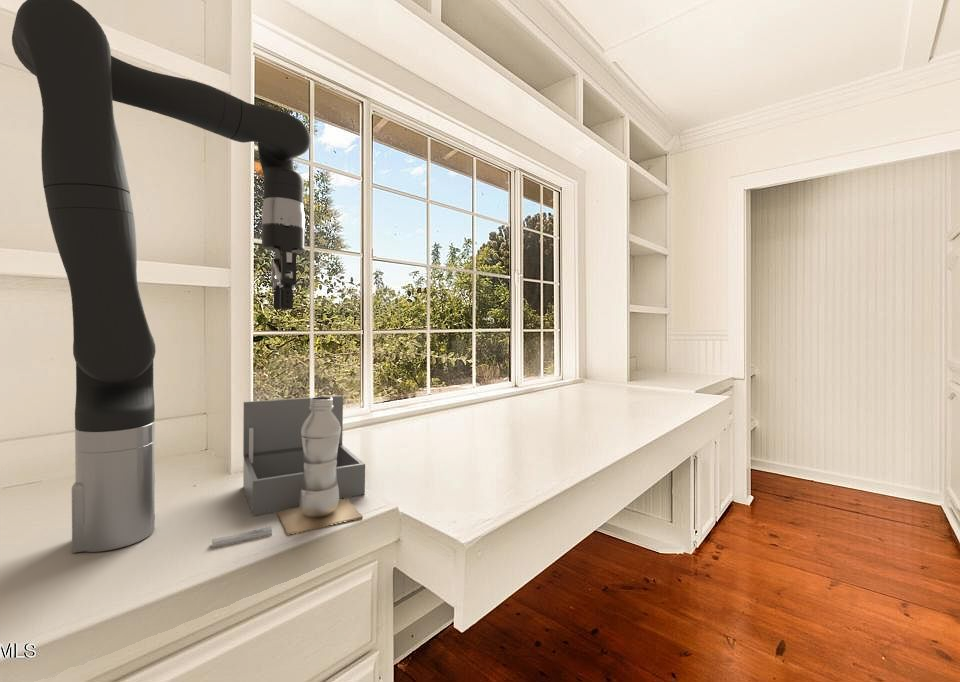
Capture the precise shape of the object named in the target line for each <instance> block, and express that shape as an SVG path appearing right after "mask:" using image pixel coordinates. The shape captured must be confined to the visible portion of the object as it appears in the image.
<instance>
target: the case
mask: <svg viewBox="0 0 960 682" xmlns="http://www.w3.org/2000/svg"><path fill="white" fill-rule="evenodd" d="M325 397H332V399H333V409H331V411H332V413H333V414H334V415H335V417H336V418H337V419H338V421H339V423H340V426H341V433H340V439H339V444H338V452H337V459H336V460H337V465H336V468H337V484H338V488H339V496H340V498H339V500H341V498H344V499H346V498H347V497H349V498H353V497H352V496H354V497H357V496H356V495H359V496H362V495H361V494H365V495H366V493H365V492H366V463H365V462H363V461H362V460H361V459H360V458H359V457H358V456H356V455H355V454H354V453H353V452H351V451H350V449H348V448H347V447H346V446H344V444H343V431H344V430H343V429H344V428H343V421H344V420H343V419H344V411H343V410H344V407H343V406H344V396H343V395H341V394H340V395H328V396H327V395H326V396H325ZM310 398H313V397H312V396H311V397H299V398H283V399H281V398H280V399H269V400H268V399H267V400H253V401H249V400H248V401H243V417H242V419H243V420H242V422H243V424H242V425H243V428H242V429H243V430H242V431H243V432H242V434H243V435H242V436H243V437H242V438H243V440H242V446H243V447H242V454H243V456H242V457H243V477H242V478H243V479H242V480H243V485H242V486H243V487H242V488H243V489H244V494H245V496H246V499H247V502H248V507H249V509H250V512H251V515H252V517H257V516H260V515H265V514H269V513H276V512H279V511H284V510H289V509H294V508H300V507H299V497H300V491H301V488H302V481H303V472H304V459H303V446H302V438H301V437H302V436H301V428H302V425H303V423H304V422H305V420H306V419H307V417H308V416H309V415H310V413H311V410H310V409H309V406H310ZM347 499H348V498H347Z"/></svg>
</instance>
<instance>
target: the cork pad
mask: <svg viewBox="0 0 960 682" xmlns="http://www.w3.org/2000/svg"><path fill="white" fill-rule="evenodd" d="M277 515H278V518H279V519H280V522H281V525H282V527H283V529H284V531H285V534H286V536H291V535H290V534H292V535H296V534H300V533H299V532H301V533H303V531H305V532H308V531H307V530H310V531H313V529H314V530H317V528H319V529H322V528H321V527H323V528H326V527H325V526H327V527H329V526H328V525H331V524H335V523H339V522H344V521H350V520H354V521H357V520H356V519H359V520H363V519H362V518H363V515H362V514H361V512H360V511H359V510H358V509H357V508H356V507H355V505H353V503H352V502H351V501H350V500H349V498H344V499H339V503H338V506H337V508H336V509H335V511H334V512H333V513H331V514H328V515H325V516H321V517H308V516H305V515H303V513H302V512H301V511H300V507H297V508H292V509H287V510H281V511H277ZM350 522H351V521H350ZM295 533H296V534H295Z"/></svg>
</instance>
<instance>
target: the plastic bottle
mask: <svg viewBox="0 0 960 682" xmlns="http://www.w3.org/2000/svg"><path fill="white" fill-rule="evenodd" d="M309 398H310V397H309ZM309 409H310V410H311V413H310V415H309V416H308V417H307V419H306V420H305V422H304V423H303V425H302V428H301V436H302V437H301V438H302V446H303V459H304V472H303V481H302V488H301V491H300V497H299V507H298V508H300V511H301V512H302V513H303V515H305V516H308V517H321V516H325V515H328V514H331V513H333V512H334V511H335V509H336V508H337V506H338V503H339V500H340V499H339V498H340V496H339V488H338V484H337V468H336V465H337V460H336V459H337V452H338V444H339V439H340V433H341V426H340V423H339V421H338V419H337V418H336V417H335V415H334V414H333V413H332V411H331V409H333V399H332V397H326V396H315V397H313V398H310V406H309Z"/></svg>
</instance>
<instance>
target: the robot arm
mask: <svg viewBox="0 0 960 682" xmlns="http://www.w3.org/2000/svg"><path fill="white" fill-rule="evenodd" d="M109 42H110V41H108V38H107V35H106V34H105V31H104V29H103V28H102V26H101V25H100V24H99V22H98V20H97V19H96V18H95V17H94V16H93V15H92V14H91V13H90V12H89V11H88V10H87V9H86V8H84V6H82V5H81V4H80V3H78V2H76V1H75V0H25V1H24V2H23V3H22V4H21V5H20V7H19V8H18V10H17V13H16V15H15V20H14V25H13V29H12V34H11V45H12V48H13V51H14V53H15V55H16V57H17V59H18V61H19V62H20V64H22V65H23V66H24V68H26V69H27V70H28V71H29V72H30V73H31V74H32V75H34V76H35V77H36V80H37V84H38V87H39V92H40V98H41V106H42V127H41V128H42V129H41V130H42V131H41V150H40V151H41V155H40V156H41V159H40V160H41V175H42V187H43V190H44V191H43V192H44V198H45V202H46V207H47V214H48V218H49V220H50V226H51V229H52V233H53V237H54V241H55V244H56V247H57V250H58V254H59V256H60V259H61V262H62V265H63V268H64V270H65V274H66V276H67V280H68V282H69V283H68V284H69V288H70V289H69V290H70V296H71V307H72V308H71V310H72V319H73V320H72V325H73V326H72V327H73V334H72V335H73V344H72V353H73V358H74V361H75V407H74V437H75V438H74V439H75V440H74V441H75V442H74V447H75V449H74V454H75V463H74V465H75V470H74V471H75V473H74V474H75V482H74V483H73V484H72V486H71V552H72V553H75V554H76V553H79V552H90V553H91V552H92V553H94V552H98V553H99V552H105V551H111V550H116V549H120V548H125V547H128V546H130V545H133V544H136V543H138V542H140V541H143V540H144V539H146V538H148V537H150V536H151V535H152V534H153V533H154V532H155V526H156V525H155V521H156V514H155V512H156V511H155V507H156V505H155V503H156V501H155V498H156V497H155V494H156V493H155V488H156V487H155V486H156V485H155V483H156V480H155V476H156V475H155V463H156V462H155V461H156V459H155V457H156V456H155V452H156V451H155V449H156V448H155V445H156V444H155V443H156V442H155V436H156V435H155V419H156V418H155V412H156V411H155V410H156V409H155V392H154V359H155V356H156V344H155V340H154V337H153V335H152V332H151V329H150V326H149V323H148V320H147V317H146V314H145V310H144V306H143V304H142V303H143V302H142V299H141V295H140V290H139V285H138V275H137V268H138V267H137V263H138V262H137V255H138V254H137V253H138V252H137V235H136V223H135V217H134V214H135V213H134V209H133V202H132V197H131V191H130V186H129V181H128V177H127V171H126V167H125V161H124V155H123V151H122V147H121V143H120V138H119V134H118V130H117V125H116V121H115V120H116V119H115V116H114V115H115V114H114V105H113V102H117V103H120V104H124V105H128V106H132V107H134V108H139V109H142V110H145V111H148V112H153V113H157V114H159V115H163V116H165V117H168V118H171V119H175V120H178V121H181V122H182V123H186V124H189V125H192V126H194V127H196V128H200V129H203V130H204V131H208V132H210V133H213V134H216V135H219V136H221V137H224V138H226V139H230V140H232V141H235V142H238V143H251V142H252V143H253V142H255V143H257V150H258V151H257V152H258V156H259V161H260V167H261V171H262V174H263V180H264V181H263V204H262V212H261V247H262V248H263V249H264V250H266V251H270V252H271V251H272V252H274V258H272V259H271V260H270V267H271V273H270V279H271V283H270V287H271V289H272V291H273V309H274V310H276V311H277V310H280V311H281V310H282V311H284V310H292V309H293V308H294V290H295V288H296V286H297V283H298V281H297V257H298V255H297V254H298V253H302V252H304V251H305V211H304V210H305V209H304V180H303V177H302V175H300V173H299V172H296V171H295V167H294V159H295V158H299V156H303V155H304V154H306V153H307V151H309V149H310V147H311V144H312V138H311V137H312V135H311V133H310V132H309V131H310V130H308V128H307V126H306V125H305V124H304V123H303V122H302V121H301V120H300V119H298V118H297V117H295V116H294V115H291V114H289V113H286V112H284V111H281V110H277V109H273V108H271V107H267V106H263V105H259V104H253V103H249V102H246V100H245V101H244V100H243V99H241V98H238V97H236V96H234V95H232V94H229V93H227V92H226V91H223V90H221V89H218V88H216V87H213V86H211V85H209V84H205V83H203V82H200V81H196V80H192V79H188V78H183V77H178V76H174V75H169V74H163V73H159V72H155V71H151V70H147V69H146V68H142V67H138V66H137V65H136V66H135V65H133V64H130V63H128V62H126V61H123V60H121V59H119V58H117V57H115V56H112V53H111V51H112V50H111V47H110V43H109Z"/></svg>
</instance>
